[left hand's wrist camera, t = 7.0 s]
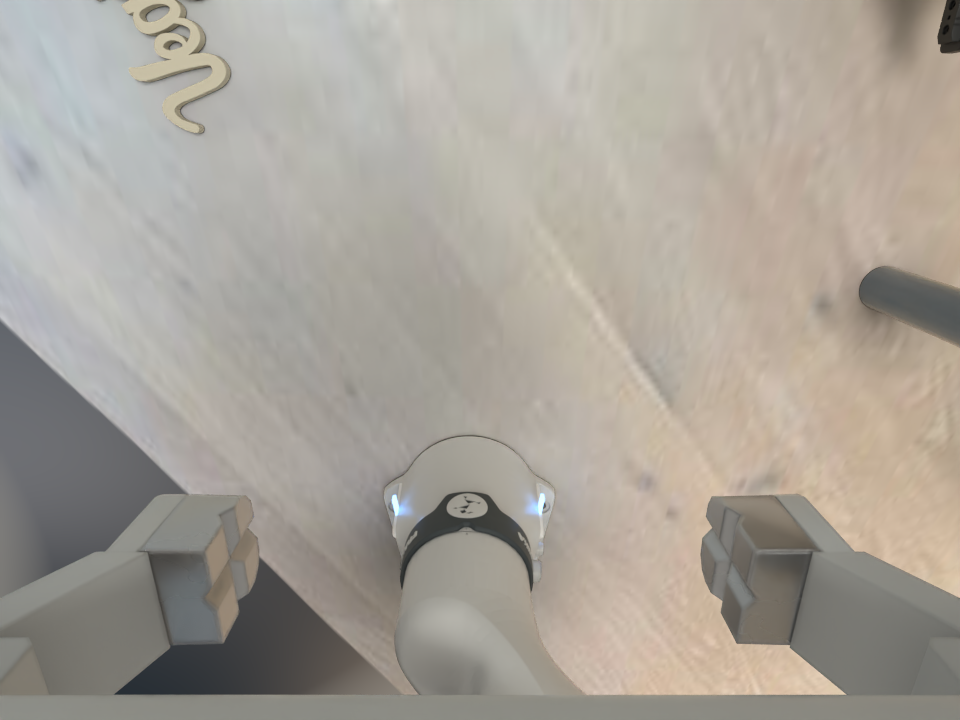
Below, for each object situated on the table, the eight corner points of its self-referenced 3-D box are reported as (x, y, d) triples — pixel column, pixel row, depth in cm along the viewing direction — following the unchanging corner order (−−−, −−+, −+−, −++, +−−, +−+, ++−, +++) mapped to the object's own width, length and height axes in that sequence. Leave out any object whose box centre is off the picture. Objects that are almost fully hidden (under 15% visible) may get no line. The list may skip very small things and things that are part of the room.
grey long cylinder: (901, 305, 58) (1083, 379, 41) (856, 311, 58) (1019, 387, 41) (906, 263, 57) (1098, 320, 39) (861, 268, 57) (1031, 328, 39)
